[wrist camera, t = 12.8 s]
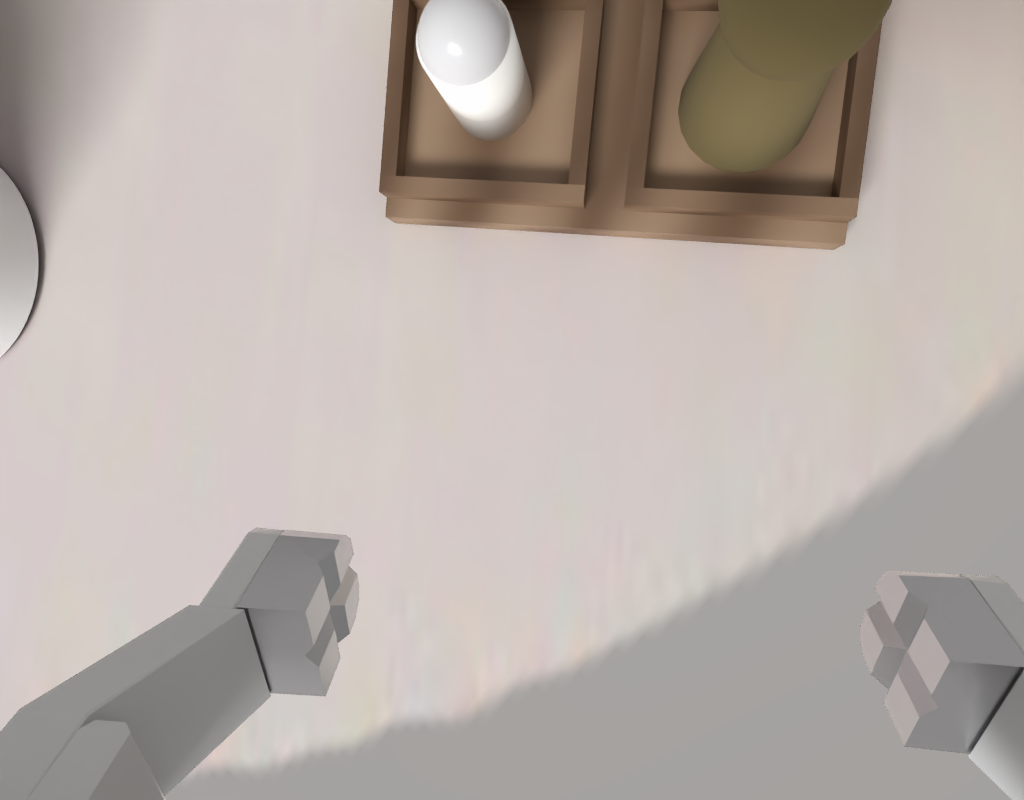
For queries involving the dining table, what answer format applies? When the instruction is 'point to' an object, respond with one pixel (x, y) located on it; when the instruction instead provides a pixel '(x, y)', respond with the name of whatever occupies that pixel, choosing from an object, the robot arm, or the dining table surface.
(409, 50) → the cruet board
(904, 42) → the dining table surface
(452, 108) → the salt cellar
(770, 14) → the olive green stopper
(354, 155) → the dining table surface
